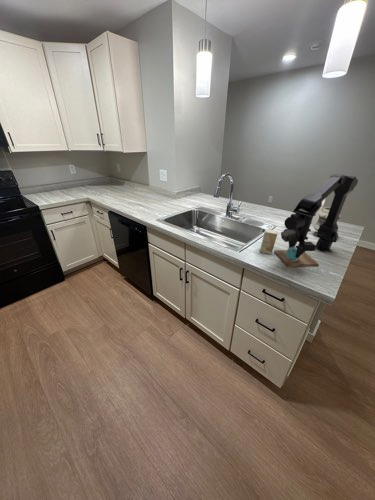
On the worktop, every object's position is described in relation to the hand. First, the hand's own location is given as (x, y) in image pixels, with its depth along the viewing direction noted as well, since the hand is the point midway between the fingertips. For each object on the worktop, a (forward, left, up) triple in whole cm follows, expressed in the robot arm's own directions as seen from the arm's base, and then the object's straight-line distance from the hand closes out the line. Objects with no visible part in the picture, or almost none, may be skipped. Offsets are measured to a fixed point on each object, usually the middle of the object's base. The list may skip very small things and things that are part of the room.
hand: (293, 254), depth 99 cm
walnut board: (-3, -2, -4) cm, 5 cm away
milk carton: (-43, -51, -4) cm, 67 cm away
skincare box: (+9, -10, -4) cm, 14 cm away
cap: (0, 0, -1) cm, 1 cm away
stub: (0, 0, -3) cm, 3 cm away
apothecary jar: (-36, -29, -4) cm, 46 cm away
